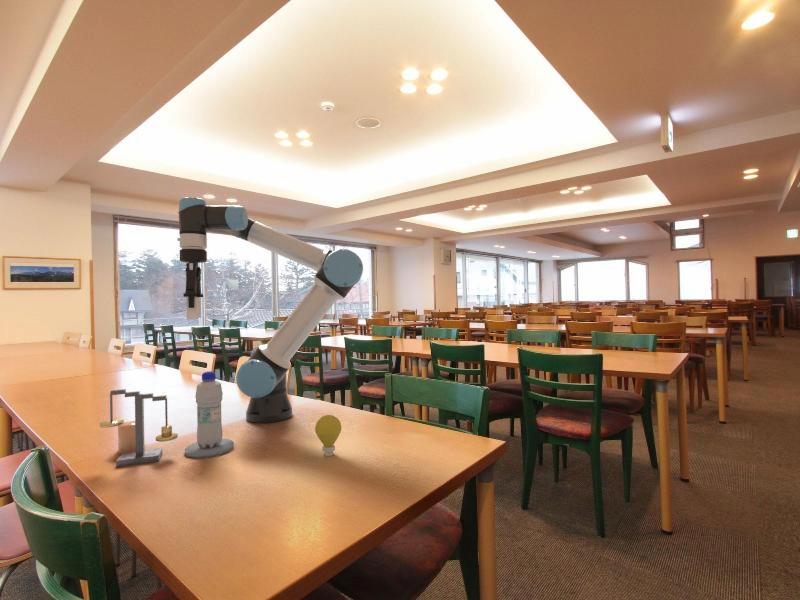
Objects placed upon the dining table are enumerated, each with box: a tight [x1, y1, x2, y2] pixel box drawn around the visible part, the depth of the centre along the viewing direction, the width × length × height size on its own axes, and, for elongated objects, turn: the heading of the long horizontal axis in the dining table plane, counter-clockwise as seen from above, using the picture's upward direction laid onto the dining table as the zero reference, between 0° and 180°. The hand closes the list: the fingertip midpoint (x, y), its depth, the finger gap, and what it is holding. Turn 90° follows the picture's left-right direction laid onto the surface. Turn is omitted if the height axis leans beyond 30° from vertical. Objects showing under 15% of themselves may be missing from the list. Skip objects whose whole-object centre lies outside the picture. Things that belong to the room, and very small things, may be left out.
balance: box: [98, 388, 179, 468], centre depth 106 cm, size 17×6×18 cm, turn 111°
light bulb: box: [314, 414, 342, 457], centre depth 108 cm, size 7×7×10 cm
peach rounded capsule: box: [117, 420, 136, 454], centre depth 114 cm, size 6×6×7 cm
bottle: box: [194, 371, 223, 449], centre depth 113 cm, size 7×7×20 cm
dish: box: [184, 438, 235, 459], centre depth 113 cm, size 12×12×1 cm
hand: (194, 318), depth 129 cm, fingers open, 13 cm apart
